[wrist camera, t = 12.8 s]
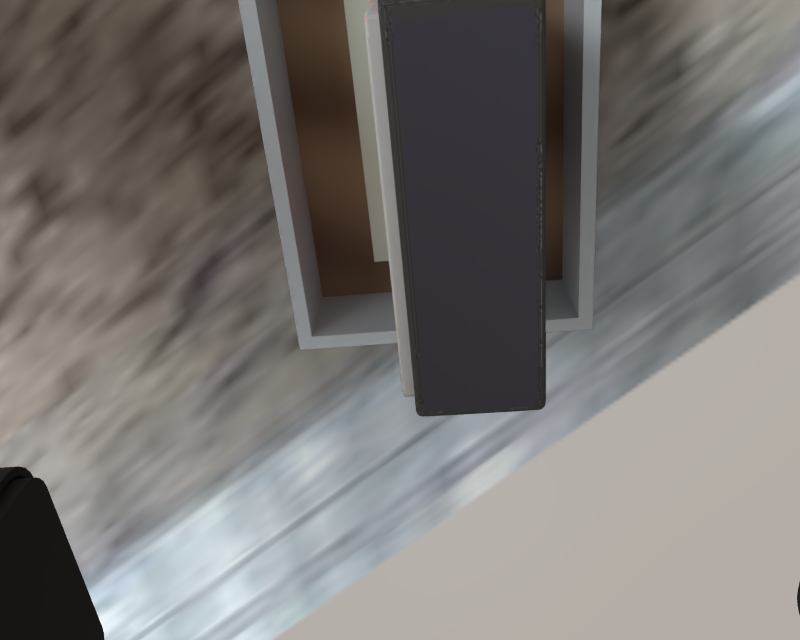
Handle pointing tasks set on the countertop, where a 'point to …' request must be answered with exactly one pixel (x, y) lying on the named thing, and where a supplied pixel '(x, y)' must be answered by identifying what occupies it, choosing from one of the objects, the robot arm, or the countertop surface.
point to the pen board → (341, 150)
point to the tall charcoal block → (464, 197)
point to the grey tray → (374, 313)
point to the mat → (366, 123)
